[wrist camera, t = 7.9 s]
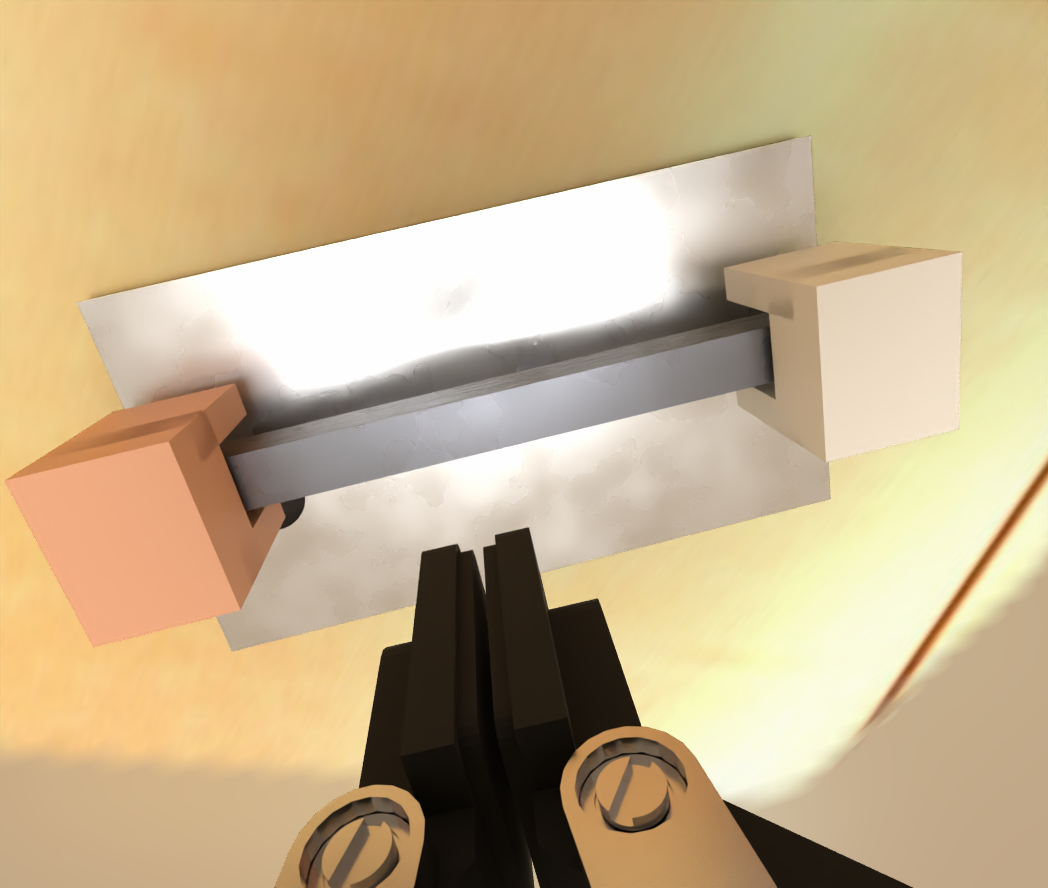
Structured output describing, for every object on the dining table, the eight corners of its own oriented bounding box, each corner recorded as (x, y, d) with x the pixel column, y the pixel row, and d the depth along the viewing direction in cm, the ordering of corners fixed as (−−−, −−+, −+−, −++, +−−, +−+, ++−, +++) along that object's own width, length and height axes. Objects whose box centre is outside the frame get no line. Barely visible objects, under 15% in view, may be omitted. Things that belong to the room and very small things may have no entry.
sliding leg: (241, 377, 23) (168, 441, 16) (290, 506, 25) (240, 610, 18) (124, 404, 23) (4, 481, 16) (181, 533, 24) (93, 647, 18)
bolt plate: (796, 138, 24) (811, 135, 23) (817, 489, 29) (831, 499, 28) (91, 298, 23) (75, 302, 22) (238, 636, 28) (231, 652, 27)
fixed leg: (817, 240, 24) (962, 252, 17) (824, 372, 26) (958, 428, 19) (710, 265, 24) (816, 286, 17) (724, 397, 26) (826, 462, 19)
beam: (818, 284, 25) (887, 297, 21) (821, 332, 25) (888, 353, 22) (140, 446, 23) (85, 491, 20) (160, 492, 24) (110, 544, 20)
